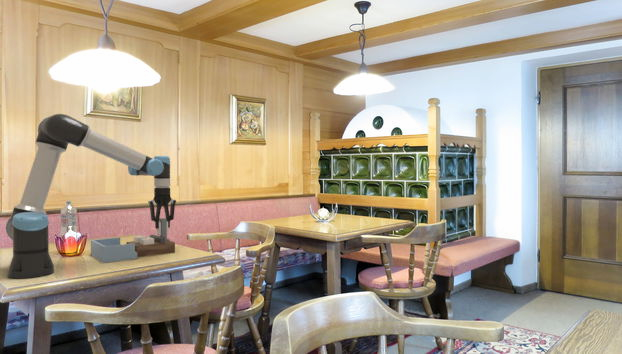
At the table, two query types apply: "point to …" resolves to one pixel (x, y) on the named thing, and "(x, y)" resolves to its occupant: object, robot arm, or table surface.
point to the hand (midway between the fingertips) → (162, 234)
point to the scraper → (163, 236)
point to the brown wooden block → (154, 248)
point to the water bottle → (68, 218)
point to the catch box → (112, 250)
